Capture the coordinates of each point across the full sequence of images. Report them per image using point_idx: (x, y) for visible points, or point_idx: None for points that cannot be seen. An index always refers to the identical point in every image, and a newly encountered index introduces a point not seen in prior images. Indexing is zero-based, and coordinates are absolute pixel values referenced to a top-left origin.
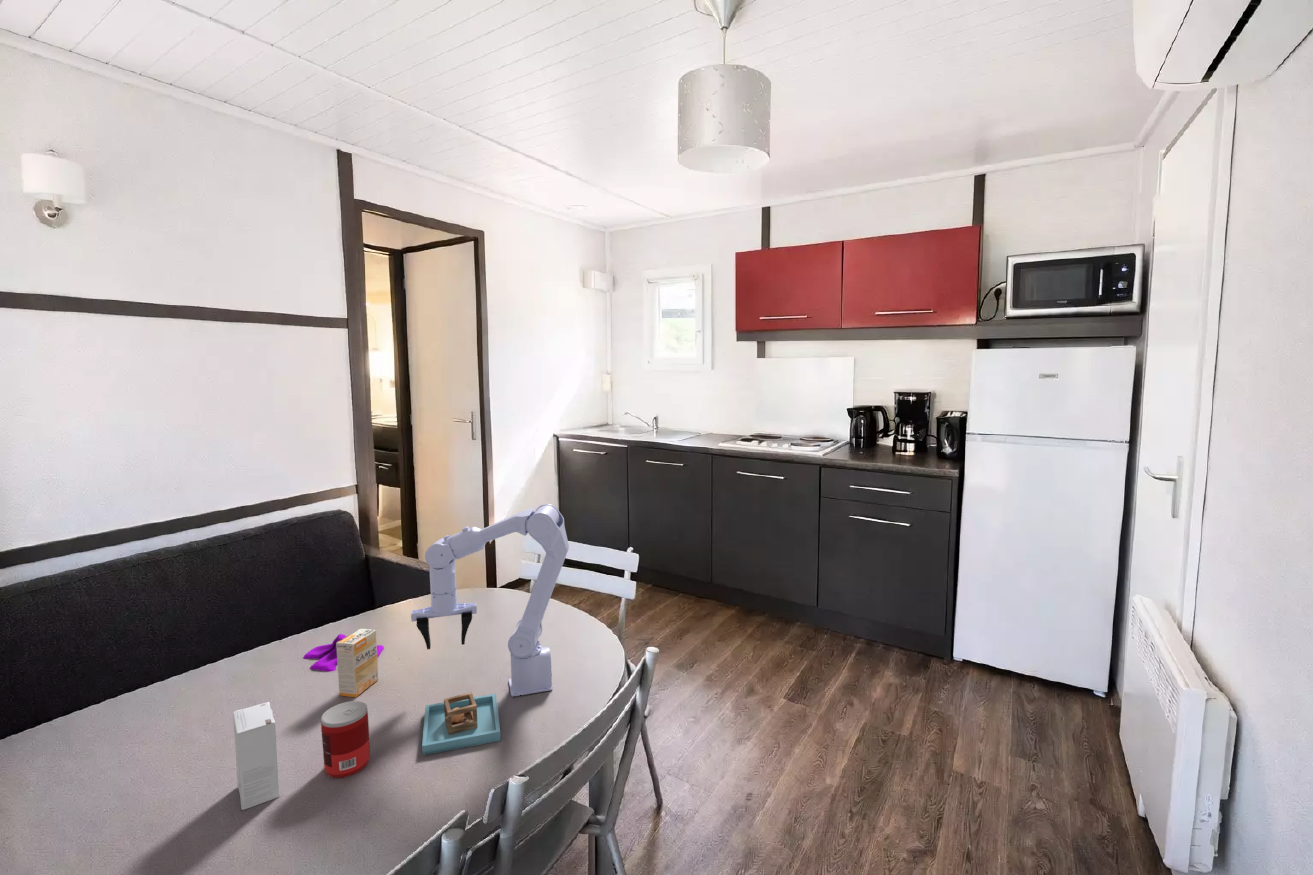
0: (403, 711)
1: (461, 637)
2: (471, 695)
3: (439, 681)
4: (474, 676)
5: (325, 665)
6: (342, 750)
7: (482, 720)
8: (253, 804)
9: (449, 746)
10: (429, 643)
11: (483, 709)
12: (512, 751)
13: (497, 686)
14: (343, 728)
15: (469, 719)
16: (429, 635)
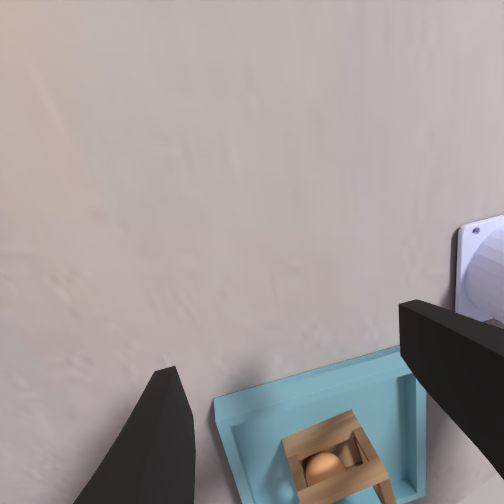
0: (134, 389)
1: (430, 363)
2: (387, 486)
3: (199, 207)
4: (336, 180)
5: None
6: None
7: (377, 432)
8: None
9: None
10: (193, 472)
11: (379, 392)
12: (430, 496)
13: (417, 259)
14: None
15: (349, 445)
16: (164, 442)
